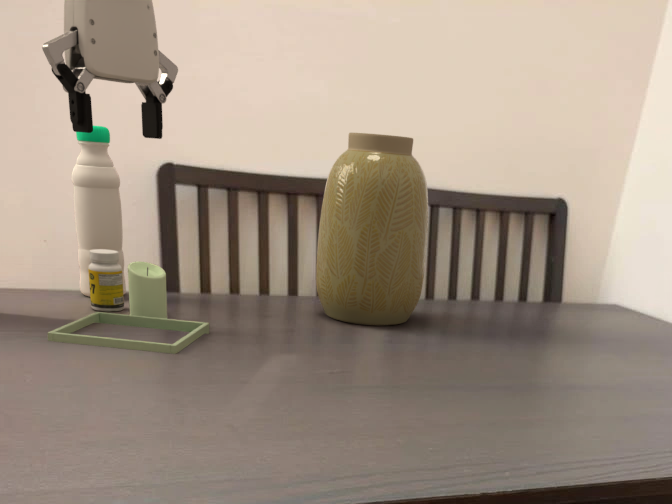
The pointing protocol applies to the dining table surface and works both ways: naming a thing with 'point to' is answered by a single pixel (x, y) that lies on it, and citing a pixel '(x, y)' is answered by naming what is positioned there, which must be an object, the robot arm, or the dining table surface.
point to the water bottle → (96, 202)
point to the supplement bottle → (105, 281)
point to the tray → (130, 320)
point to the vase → (373, 232)
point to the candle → (147, 290)
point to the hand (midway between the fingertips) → (119, 135)
